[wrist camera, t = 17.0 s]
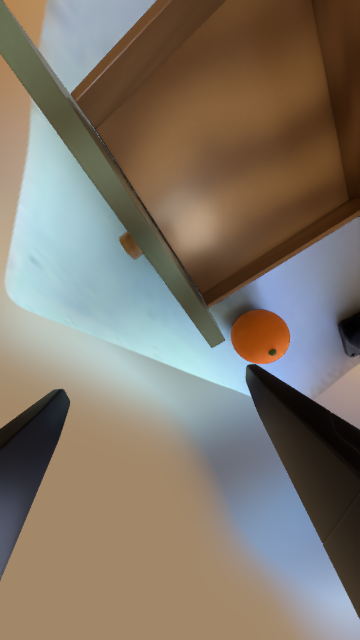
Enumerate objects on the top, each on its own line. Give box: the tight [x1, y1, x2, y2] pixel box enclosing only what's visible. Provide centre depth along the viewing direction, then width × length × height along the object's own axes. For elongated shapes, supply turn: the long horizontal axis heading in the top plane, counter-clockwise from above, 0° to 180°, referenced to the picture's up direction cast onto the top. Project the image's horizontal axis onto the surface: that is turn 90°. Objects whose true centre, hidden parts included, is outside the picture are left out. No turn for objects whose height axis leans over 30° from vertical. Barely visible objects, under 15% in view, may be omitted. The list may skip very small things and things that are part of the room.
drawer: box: [0, 0, 360, 348], centre depth 12 cm, size 18×18×8 cm
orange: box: [231, 310, 290, 364], centre depth 20 cm, size 6×6×6 cm
